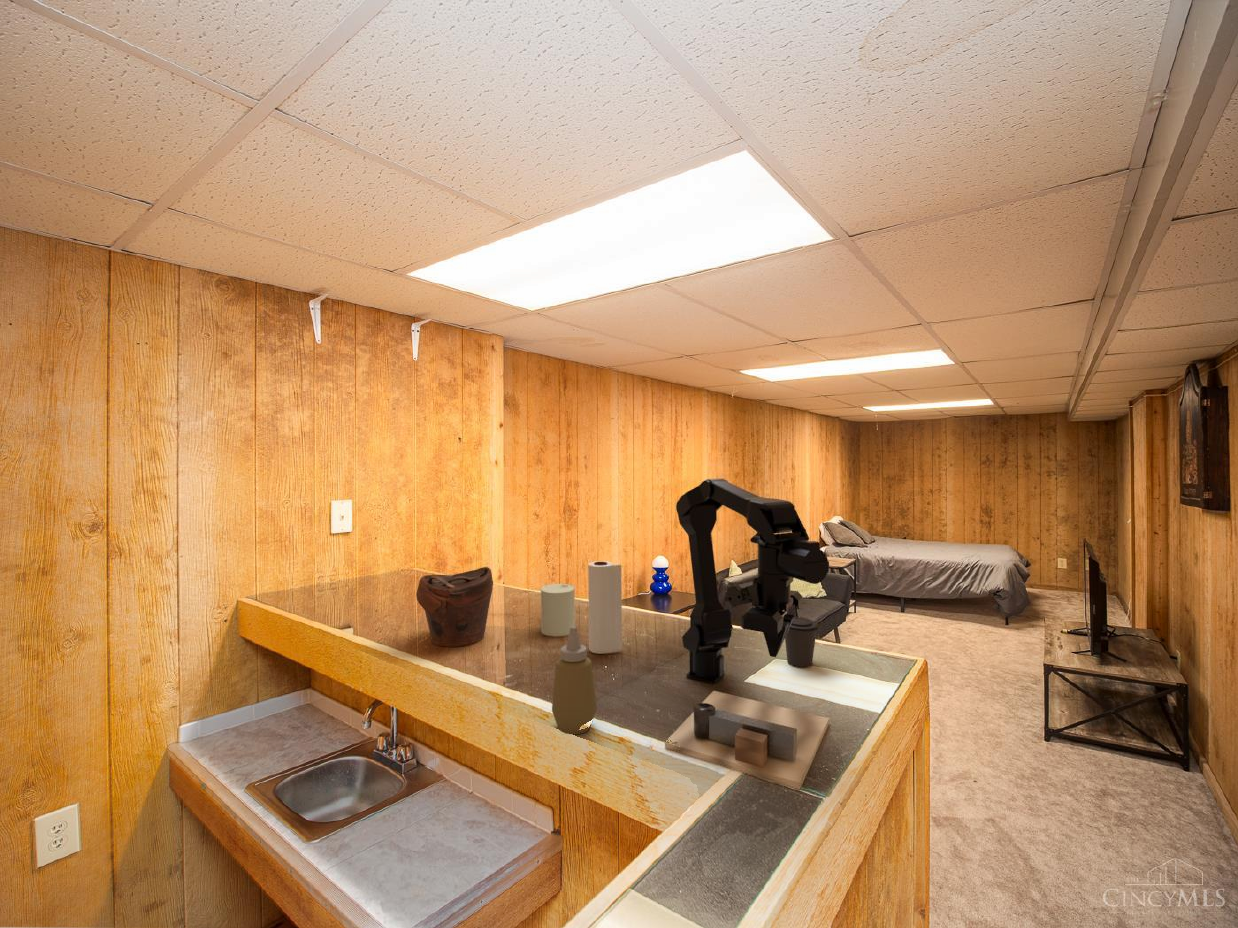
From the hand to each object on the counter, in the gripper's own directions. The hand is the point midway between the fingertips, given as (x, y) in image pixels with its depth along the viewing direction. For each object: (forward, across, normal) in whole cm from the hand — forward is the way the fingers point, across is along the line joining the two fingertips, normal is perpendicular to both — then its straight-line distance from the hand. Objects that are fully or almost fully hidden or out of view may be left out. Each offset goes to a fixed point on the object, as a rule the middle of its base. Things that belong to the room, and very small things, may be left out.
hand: (773, 656), depth 102 cm
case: (+12, -1, -82) cm, 83 cm away
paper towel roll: (+12, -13, -45) cm, 48 cm away
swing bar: (+11, +13, -1) cm, 17 cm away
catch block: (+11, +16, +1) cm, 19 cm away
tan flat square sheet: (+12, +7, -2) cm, 14 cm away
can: (+12, -19, -63) cm, 67 cm away
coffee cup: (+12, -29, -2) cm, 32 cm away
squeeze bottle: (+12, +20, -30) cm, 38 cm away
